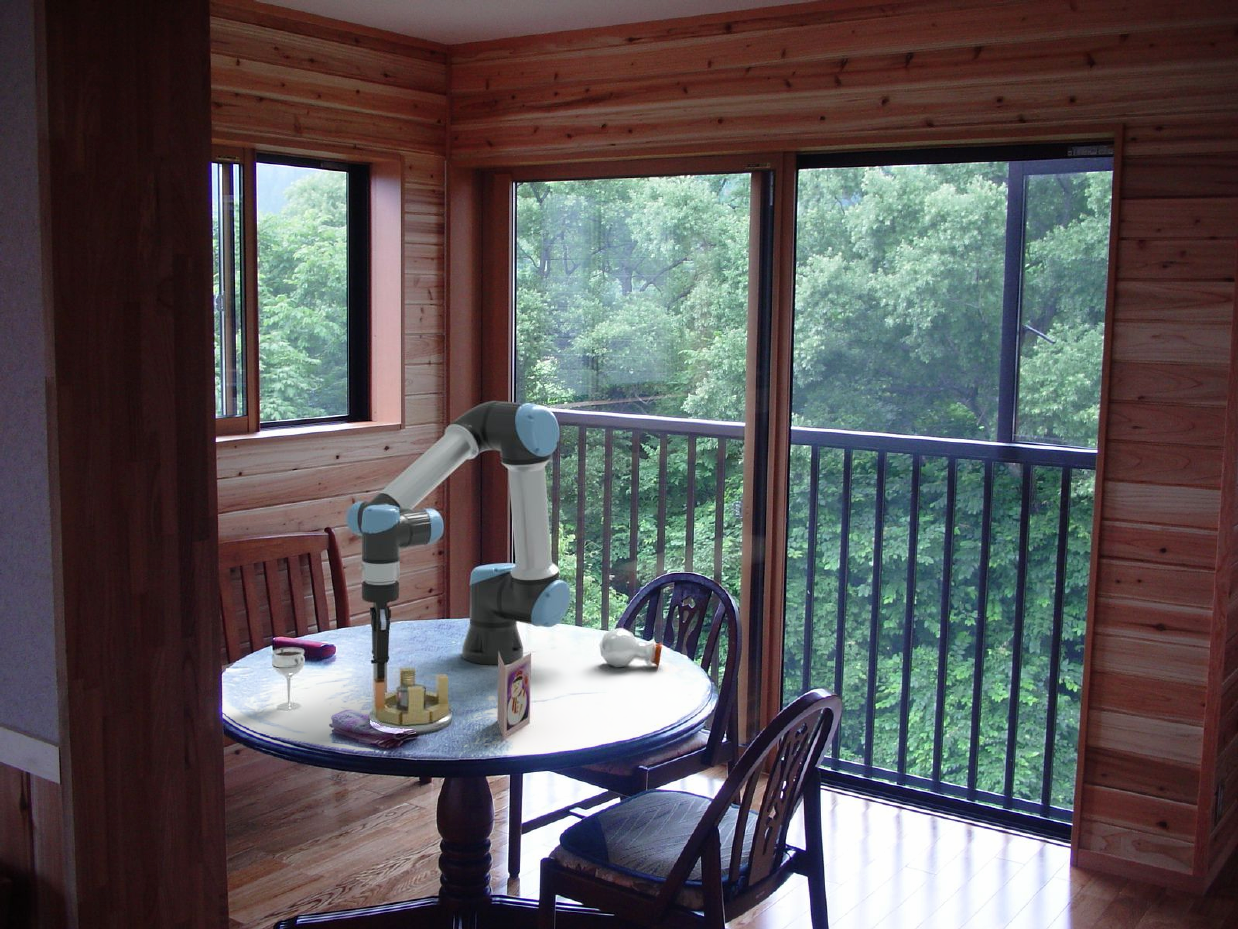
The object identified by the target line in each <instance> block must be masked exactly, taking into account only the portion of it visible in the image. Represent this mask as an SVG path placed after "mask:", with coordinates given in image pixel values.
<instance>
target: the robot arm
mask: <svg viewBox="0 0 1238 929" xmlns="http://www.w3.org/2000/svg"><path fill="white" fill-rule="evenodd" d="M559 440H560V426H559V423H558V420H557V418H556V416H555V414H554V413H553V412H552V411H551V410H550V409H549V408H547V406H544V405H539V404H536V403H532V402H513V401H502V400H491V401H486V402H484V403H481V404H478V405H477V406H475V407H473V408H470V409H469V410H468V411H466V412H464V413H463V414H461V415H460V416H458V417H457V418H456V419H455V420H454V421H452V422H451V423H450V424H449V425H448V426H447V427H446V428H445V430H444V435H443V436H442V437H441V438H439V440H437V441H436V442H435V443H434V444H433V445H431V446H430V447H429V449H427V450H426V451H425V452H424V453H423V454H422V455H421V456H419V458H417V459H415V460H414V462H412V463H411V464H410V465H409V466H408V467H407V468H406V469H405V470H403V472H401V473H400V474H399V475H398V476H397V477H396V478H394V479H393V480H392V481H391V482H390V483H389V484H388V485H387V486H386V487H385V488H383V489H382V490H381V491H380V492H379V493H378V494H376V496H374V497H373V498H372V499H371V500H370V501H367V500H363V501H357V502H355V503H353V504H352V505H351V506H349V509H348V511H347V513H346V519H345V520H346V525H347V527H348V529H349V531H350V532H351V533H352V534H355V535H357V536H359V537H361V561H362V562H361V563H362V565H359V566H358V570H360V571H361V579H362V580H363V582H362V583H361V598H362V600H363V601H364V602H366V603H372V607H369V614H370V626H371V646H372V647H371V648H372V650H371V653H372V659H370V664H372V667H373V668H372V692H373V694H374V679H383V678H384V680H385V694H388V663H389V660H390V655H389V647H390V645H389V644H390V630H391V629H390V627H391V618H392V609H390V606H388V603H390V602H395V601H397V600H398V599H399V597H400V582H399V581H398V580H399V579H400V550H404V549H408V548H412V547H413V548H414V547H419V546H427V545H430V544H432V543H436V542H438V541H439V540H440V538H441V537H442V536H443V534H444V519H443V517H442V515H441V514H440V512H438V511H437V510H436V509H434V508H424V507H422V508H420V509H414V508H415V507H416V506H418V505H419V503H421V501H423V500H424V499H425V498H426V497H427V496H428V495H429V494H430V493H431V492H432V491H434V490H435V489H436V488H437V487H438V486H439V485H440V484H442V482H444V480H446V479H447V478H448V477H449V476H450V475H451V474H452V473H453V472H455V470H456V469H458V468H459V467H460V466H461V465H462V464H463V463H464V462H465V461H467V460H472V459H473V460H474V459H475V458H476V457H477V456H478V455H479V454H480V453H482V452H485V451H499V452H500V463H501V464H502V465H503V466H504V467H505V468H507V469H508V470H507V471H508V481H509V482H508V484H509V494H510V505H511V506H510V507H511V520H512V529H513V542H514V556H515V563H513V562H512V563H511V562H509V563H508V562H505V563H504V562H503V563H491V564H484V565H479V566H476V567H474V568H473V569H472V571H471V573H470V580H469V585H468V586H469V627H468V628H467V629H468V630H467V633H466V635H465V638H464V642H463V643H462V644H463V645H462V648H461V651H462V652H461V656H462V658H463V659H464V660H466V661H468V662H471V663H475V664H480V665H481V664H483V665H498V651H499V653H500V656H501V658H502V661H503V663H504V665H505V664H512V663H513V662H515V661H517V660H519V659H521V658H523V657H524V646H523V642H522V639H521V636H520V632H519V629H518V626H517V623H523V624H527V625H530V626H531V625H532V626H534V627H542V628H551V627H554V626H556V625H558V624H559V623H560V622H561V621H562V620H563V619H564V617H565V615H566V613H567V612H568V610H569V608H570V604H571V596H572V595H571V594H572V593H571V592H572V591H571V588H570V585H569V584H568V583H567V582H565V580H563V579H560V570H559V567H558V565H556V564H555V563H554V562H553V560H552V558H553V557H552V546H551V545H552V544H551V533H550V520H549V505H548V494H547V481H546V480H547V479H546V478H547V477H546V465H547V464H548V463H549V462H550V461H551V454H552V453H553V452H555V451H556V449H557V447H558V442H559Z"/></svg>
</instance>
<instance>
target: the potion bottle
mask: <svg viewBox="0 0 1238 929" xmlns="http://www.w3.org/2000/svg"><path fill="white" fill-rule="evenodd" d="M662 648H663V642H662V641H661V642H659V643H657V642H656V641H655V638H652V639H651V640H649V641H647V642H643V641H638V639H636V637H635V635H634V634H633V632H632V631H629V630H627V629H626V628H624V627H619V628H613V629H611V630H609V631H608V632H606V633H605V634H603V636H602V638H601V641H600V643H599V650H600V656H601V657H602V658H603V660H604V661H605V662H606V663H607V664H608V665H611V666H612V667H614V668H623V667H627V666H629V664H631V663H632V662H634V660H637V661H643V662H644V663H645V664H646V665H647V666H648V667H649V668H650V667H651V666H652V665H653V664H654V665H655V666H656V667H657V668H659V666H660V662H661V656H662Z"/></svg>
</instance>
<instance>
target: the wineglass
mask: <svg viewBox="0 0 1238 929" xmlns="http://www.w3.org/2000/svg"><path fill="white" fill-rule="evenodd" d="M305 650H306V649H305ZM305 650H304V648H301V647H280V648H276V649H274V650H273V651H272V655H273V657H272V662H271V664H272V665H271V666H272V668H273V669H274V671H276V672H277V673H278V674H279V675H281V676H284V677H285V679H286V685H287V686H286V688H287V689H286V690H287V691H286V692H287V702H283V703H280V704H278V705H277V706H276V708H277V709H279V710H280V711H281V710H282V711H291V710H296V709H299V708H300V707H302V706H301V704H300V703H298V702H292V701H291V680H292V679H291V678H293V676H294V675H297V674H298V673H300V671H301V670H302V669H304V666H305V662H306V659H305V656H304V655H305Z"/></svg>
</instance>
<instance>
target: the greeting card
mask: <svg viewBox="0 0 1238 929" xmlns="http://www.w3.org/2000/svg"><path fill="white" fill-rule="evenodd" d="M497 665H498V666H497V667H498V668H497V713H496V714H497V724H498V727H499V730H500V732H501V736H502V739H503V740H506V739H507V738H509V737H510V736H512V735H513V734H515V733H516V732H518V731H519V730H521V729H523V728H524V727H525V726H527V725H528V724H530V721H531V677H532V675H531V672H532V652H529V654H528V653H527V654H526V655H525V656H524V655H523V657H522V658H521V659H519V660H517V661H515V662H511V663H509V664H508V665H506V666H505V664H504V663H503V661H502V658H501V656H500V653H499V651H498V664H497Z"/></svg>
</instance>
